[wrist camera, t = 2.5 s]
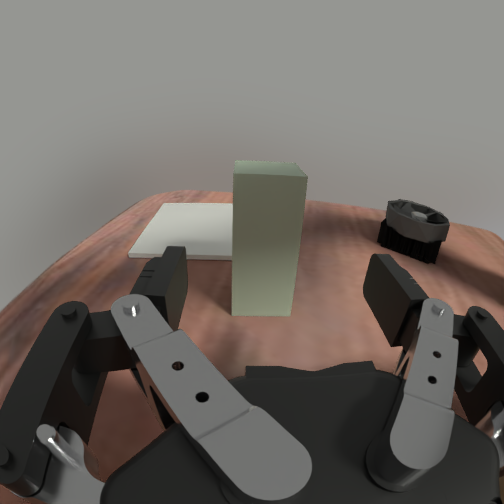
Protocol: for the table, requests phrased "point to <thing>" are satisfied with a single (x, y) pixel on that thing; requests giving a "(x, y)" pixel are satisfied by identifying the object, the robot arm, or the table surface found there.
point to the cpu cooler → (413, 229)
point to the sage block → (266, 236)
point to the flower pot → (501, 488)
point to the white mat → (188, 231)
